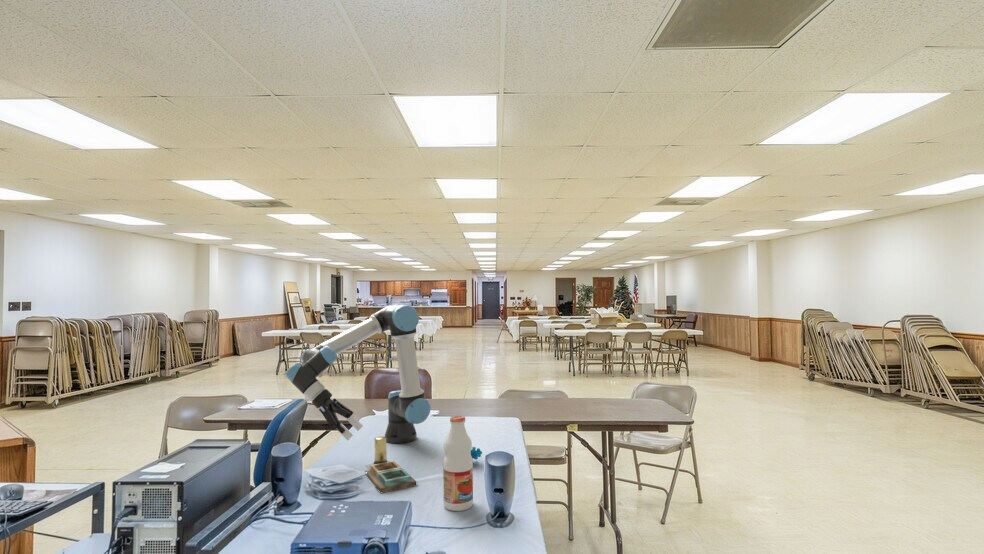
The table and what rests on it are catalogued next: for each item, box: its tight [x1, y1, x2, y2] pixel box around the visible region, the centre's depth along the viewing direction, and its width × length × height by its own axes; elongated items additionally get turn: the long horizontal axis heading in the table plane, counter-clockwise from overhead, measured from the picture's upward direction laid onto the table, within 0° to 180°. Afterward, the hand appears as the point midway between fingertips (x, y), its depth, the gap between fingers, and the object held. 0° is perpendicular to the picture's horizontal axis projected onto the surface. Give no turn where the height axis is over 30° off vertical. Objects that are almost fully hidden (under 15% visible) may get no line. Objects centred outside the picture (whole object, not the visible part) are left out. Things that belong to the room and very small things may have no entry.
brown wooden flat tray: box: [364, 460, 417, 494], centre depth 175 cm, size 13×20×4 cm, turn 30°
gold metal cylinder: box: [373, 435, 388, 464], centre depth 189 cm, size 5×5×11 cm
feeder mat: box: [364, 460, 390, 470], centre depth 189 cm, size 10×9×1 cm
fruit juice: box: [442, 415, 474, 512], centre depth 153 cm, size 9×9×28 cm
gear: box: [471, 446, 483, 461], centre depth 191 cm, size 11×6×10 cm
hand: (355, 433), depth 189 cm, fingers open, 13 cm apart
